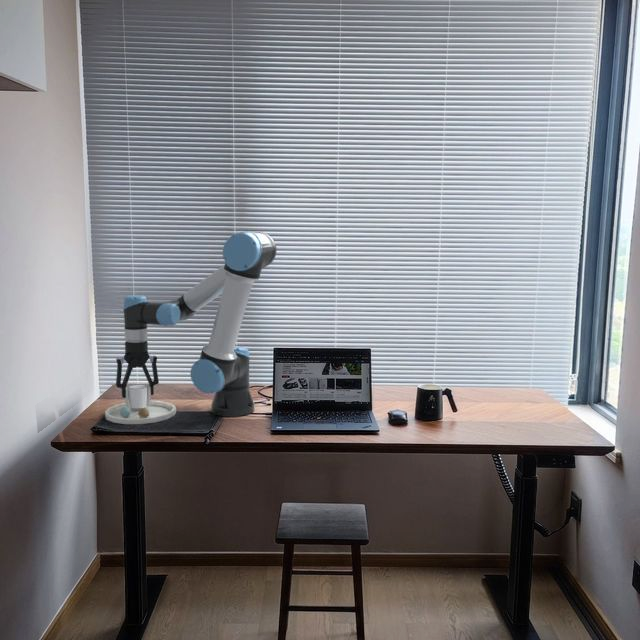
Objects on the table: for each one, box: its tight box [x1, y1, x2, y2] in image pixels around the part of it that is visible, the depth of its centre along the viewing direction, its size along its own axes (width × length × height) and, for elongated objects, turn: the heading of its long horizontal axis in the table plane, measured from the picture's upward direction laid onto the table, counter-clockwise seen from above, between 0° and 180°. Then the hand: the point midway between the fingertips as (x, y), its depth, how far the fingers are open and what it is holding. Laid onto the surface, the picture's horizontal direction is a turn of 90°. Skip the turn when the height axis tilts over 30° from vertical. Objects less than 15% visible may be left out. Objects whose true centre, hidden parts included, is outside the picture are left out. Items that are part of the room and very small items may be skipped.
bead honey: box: [138, 408, 149, 418], centre depth 212 cm, size 4×4×4 cm
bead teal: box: [120, 407, 131, 417], centre depth 213 cm, size 4×4×4 cm
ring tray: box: [104, 400, 177, 425], centre depth 217 cm, size 23×23×2 cm
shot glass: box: [127, 384, 148, 408], centre depth 222 cm, size 7×7×7 cm
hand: (138, 405), depth 222 cm, fingers closed on shot glass, 7 cm apart
